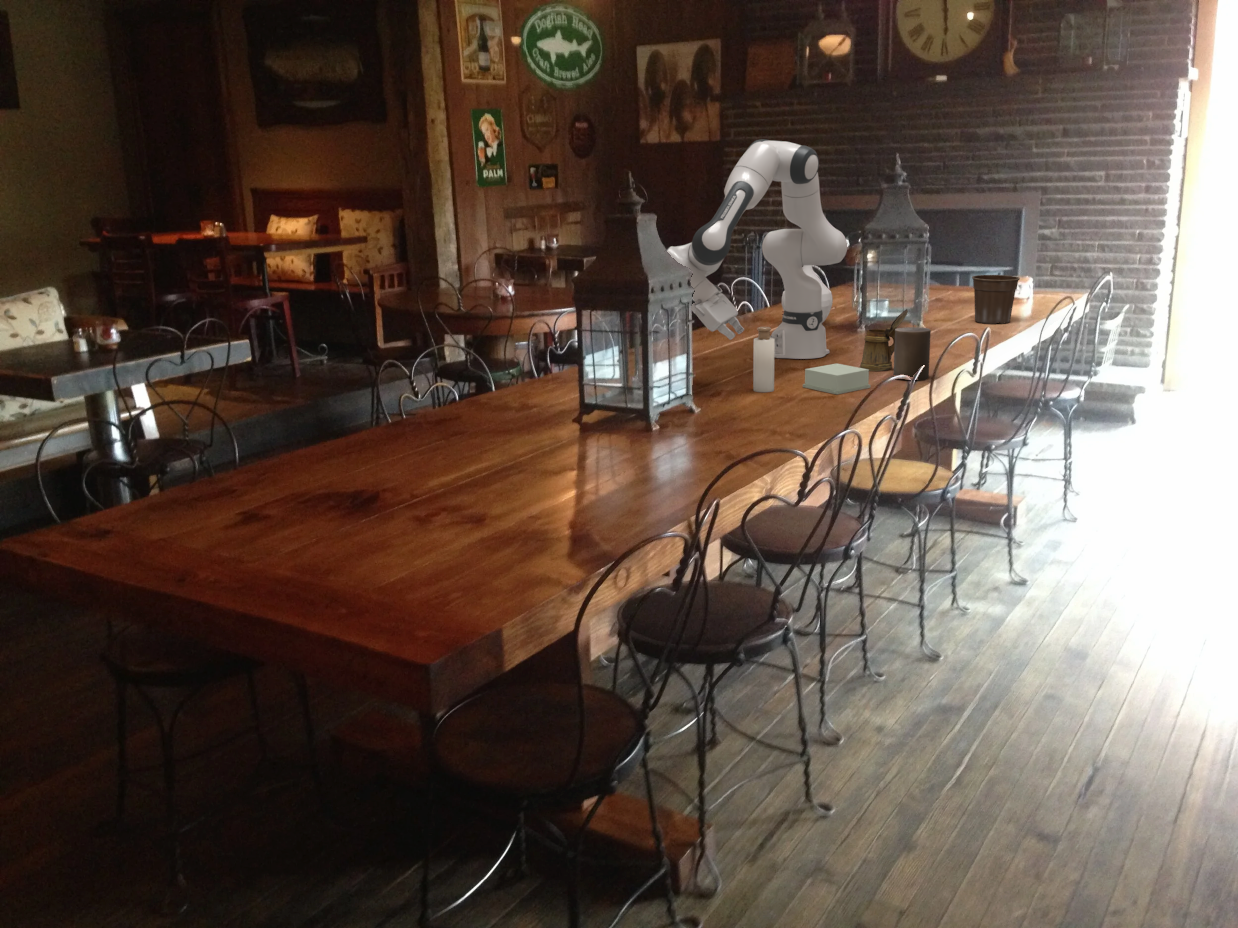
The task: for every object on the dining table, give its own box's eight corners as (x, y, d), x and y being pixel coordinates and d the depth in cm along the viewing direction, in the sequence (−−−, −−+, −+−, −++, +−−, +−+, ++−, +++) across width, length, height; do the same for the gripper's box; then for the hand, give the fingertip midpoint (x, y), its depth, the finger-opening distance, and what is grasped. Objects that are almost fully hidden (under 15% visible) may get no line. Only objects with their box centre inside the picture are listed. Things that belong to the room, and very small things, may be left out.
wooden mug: (899, 374, 321) (901, 311, 316) (855, 369, 329) (856, 308, 324) (911, 368, 328) (913, 307, 323) (867, 364, 336) (869, 304, 331)
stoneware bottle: (749, 389, 307) (750, 327, 302) (768, 387, 309) (768, 325, 304) (759, 393, 302) (759, 330, 297) (777, 391, 303) (778, 328, 299)
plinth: (802, 387, 307) (803, 369, 306) (836, 380, 314) (836, 363, 313) (836, 394, 297) (837, 376, 296) (870, 387, 304) (871, 369, 303)
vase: (772, 323, 416) (773, 241, 408) (817, 320, 421) (819, 239, 413) (794, 330, 399) (796, 245, 391) (841, 326, 404) (843, 242, 396)
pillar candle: (929, 381, 310) (932, 327, 306) (893, 380, 312) (895, 327, 308) (927, 375, 319) (930, 322, 315) (892, 374, 321) (894, 322, 317)
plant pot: (1021, 320, 408) (1024, 275, 403) (1010, 326, 395) (1013, 280, 390) (976, 317, 416) (978, 273, 412) (964, 323, 403) (966, 278, 399)
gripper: (699, 295, 293) (736, 333, 293) (720, 285, 312) (754, 321, 311) (683, 311, 296) (719, 349, 295) (704, 301, 315) (738, 336, 314)
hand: (737, 335), depth 303 cm, fingers open, 8 cm apart
